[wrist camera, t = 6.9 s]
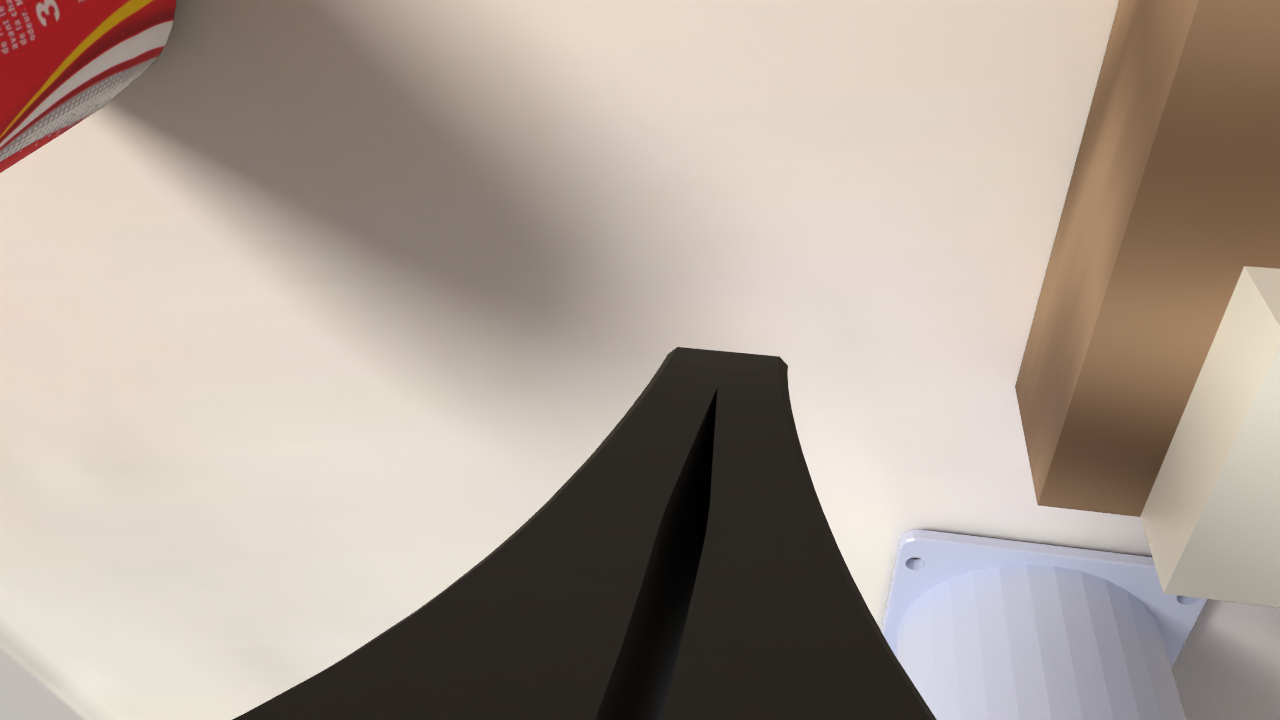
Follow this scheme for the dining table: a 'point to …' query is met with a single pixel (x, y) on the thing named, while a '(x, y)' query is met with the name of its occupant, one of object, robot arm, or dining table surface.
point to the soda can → (70, 63)
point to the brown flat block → (1151, 243)
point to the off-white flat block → (1226, 462)
